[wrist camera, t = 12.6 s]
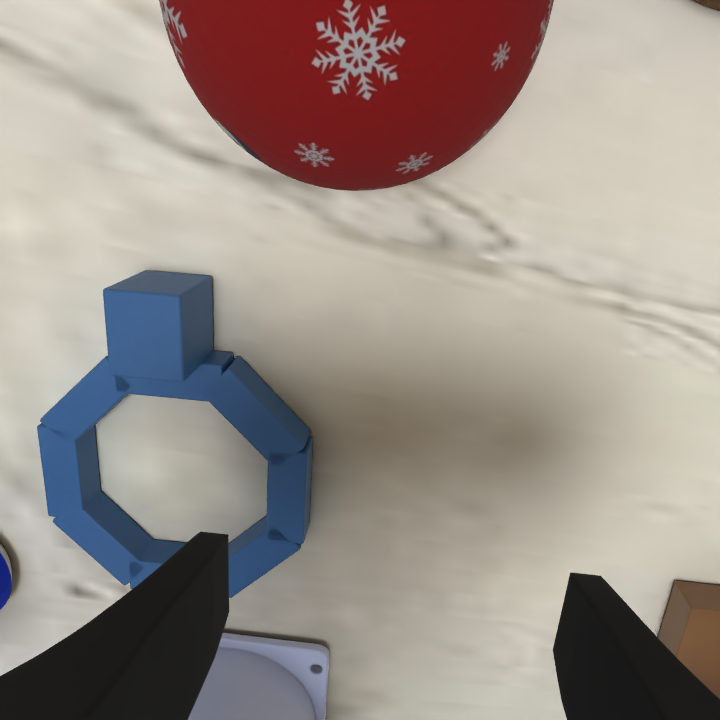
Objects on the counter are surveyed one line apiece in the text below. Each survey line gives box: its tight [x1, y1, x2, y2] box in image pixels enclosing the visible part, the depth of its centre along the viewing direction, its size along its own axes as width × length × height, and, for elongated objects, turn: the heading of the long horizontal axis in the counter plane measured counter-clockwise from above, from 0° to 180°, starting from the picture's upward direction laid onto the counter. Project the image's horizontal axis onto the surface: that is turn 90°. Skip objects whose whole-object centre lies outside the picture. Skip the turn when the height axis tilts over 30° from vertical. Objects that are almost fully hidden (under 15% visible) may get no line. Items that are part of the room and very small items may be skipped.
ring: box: [37, 270, 313, 598], centre depth 21 cm, size 12×10×3 cm
